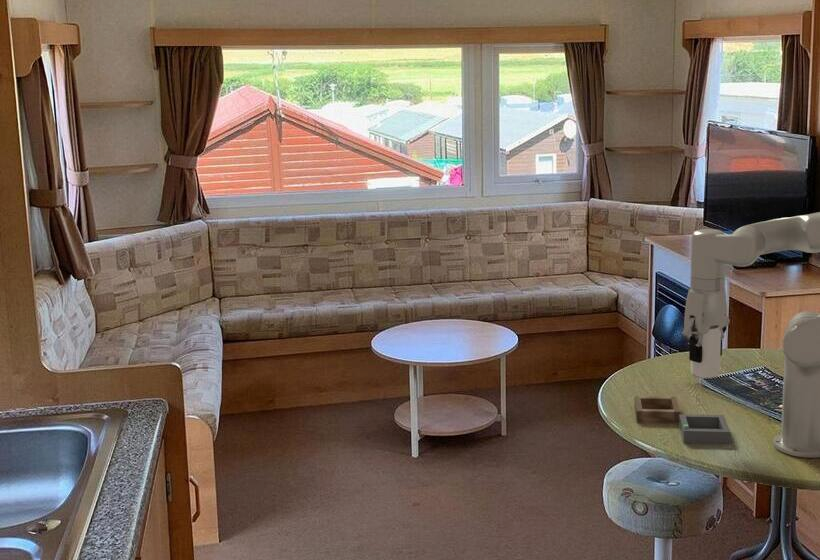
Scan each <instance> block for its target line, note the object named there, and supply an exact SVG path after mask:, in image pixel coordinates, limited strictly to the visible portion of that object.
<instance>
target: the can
mask: <svg viewBox="0 0 820 560" xmlns="http://www.w3.org/2000/svg"><path fill="white" fill-rule="evenodd" d="M695 332H698V330H697V329H695ZM694 337H695V338H696V340H697V337H698V335H696V334H695V335H694ZM721 340H722V339H721V331H720V329H719V326H718V327H716V328H710V329H709V331H708V333H706V334H703V338H702V341H701V345H700V346H702V362H701V363H698V362H694V361H691V360H690V372H691V374H692V376H693V377H695V378H698V379H699V378H700V379H714V378H717V377H718V376H719V375H720V373H721V372H720V371H721V356H720V349H721Z"/></svg>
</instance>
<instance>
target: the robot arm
mask: <svg viewBox="0 0 820 560" xmlns="http://www.w3.org/2000/svg"><path fill="white" fill-rule="evenodd" d="M690 247H691V248H690V283H689V284H690V288H689V290H688V292H687V295H686V300H685V309H684V321H683V324H684V325H683V327H684V329H683V330H682V332H681V335H682V336H683V337H684V339H685V340H686V342H687V344H688V345H689V347H688V348H689V349H688V350H689V351H688V354H689V356H688V357H689V361H690V362H691V361H694V362H698V363H701V362H702V346H700V345H701V341H702V338H703V334H706V333H708V331H709V329H710V328H716V327H718V326H719V329H720V331H721V349H720V357H722V355H723V340H724V338H725V333H726V331H727V328H728V326H729V325H730V322H731V319H730V318H729V317H728V316H727V315H728V310H727V309H728V307H727V306H728V305H727V295H726V285H725V284H726V265H729V266H735V267H744V268H745V267H748V266H751V265H753V264H754V263H755V262H756V261H757V260H759V259H758V258H759V257H760V256H761V255H767V254H771V253H772V254H773V253H778V252H784V251H800V252H804V253H809V254H811V253H812V254H818V253H820V211H819V212H813V213H809V214H808V213H807V214H803V215H801V214H800V215H795V216H791V217H781V218H773V219H769V220H766V221H760V222H755V223H751V224H746V225H743V226H741V227H739V228H737V229H735V230H734V231H733V232H732V233H730V234H729V233H728V234H726V233H725V232H724V231H722V230H720V229H715V228H703V229H698V230H695V231H694V232H692V234H691V245H690ZM695 329H697V330H698V332H695ZM695 334H696V335H698V337H697V340H696V338H695V337H694V335H695ZM781 345H782V346H781V347H782V353H783V354H784V364H783V365H784V368H783V379H782V380H783V381H782V386H783V387H782V407H781V427H780V428H781V429H780V430H781V431H780V433H779V434H777V435H776V436H774V438H773V441H772V442H773V443H772V444H773V446H774V447H775V449H777V450H778V451H780V453H784V454H787V455H790V456H793V457H796V458H797V457H798V458H806V459H807V458H808V459H810V458H811V459H813V458H814V459H815V458H820V313H819V312H817V311H813V310H806V311H801V312H799V313H797V314H795V315H793V317H792V318H791V319H790V320H789V321H788V323H787V325H786V328H785V330H784V334H783V338H782V342H781Z"/></svg>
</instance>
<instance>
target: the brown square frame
mask: <svg viewBox="0 0 820 560" xmlns="http://www.w3.org/2000/svg"><path fill="white" fill-rule="evenodd" d="M633 407H634V413H635V421H636V423H645V424H646V423H647V424H649V423H650V424H651V423H654V424H679V414H681V409H680V405H679V402H678V398H677V396H657V395H656V396H652V395H651V396H649V395H647V396H646V395H645V396H644V395H643V396H641V395H635V396H634V406H633Z"/></svg>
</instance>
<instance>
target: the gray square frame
mask: <svg viewBox="0 0 820 560" xmlns="http://www.w3.org/2000/svg"><path fill="white" fill-rule="evenodd" d="M678 427H679V430H680V431H679V432H680V434H681V438H682V442H683V444H709V445H710V444H712V445H713V444H714V445H716V444H718V445H730V444H731V430H730V428H729V425H728V423H727V420H726V417H725V415H724V414H692V413H691V414H683V413H682V414H681V413H680V414H679V423H678Z"/></svg>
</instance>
